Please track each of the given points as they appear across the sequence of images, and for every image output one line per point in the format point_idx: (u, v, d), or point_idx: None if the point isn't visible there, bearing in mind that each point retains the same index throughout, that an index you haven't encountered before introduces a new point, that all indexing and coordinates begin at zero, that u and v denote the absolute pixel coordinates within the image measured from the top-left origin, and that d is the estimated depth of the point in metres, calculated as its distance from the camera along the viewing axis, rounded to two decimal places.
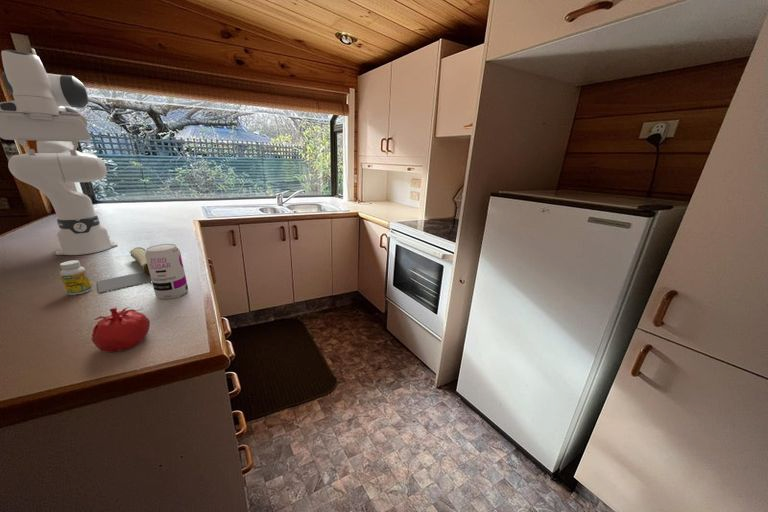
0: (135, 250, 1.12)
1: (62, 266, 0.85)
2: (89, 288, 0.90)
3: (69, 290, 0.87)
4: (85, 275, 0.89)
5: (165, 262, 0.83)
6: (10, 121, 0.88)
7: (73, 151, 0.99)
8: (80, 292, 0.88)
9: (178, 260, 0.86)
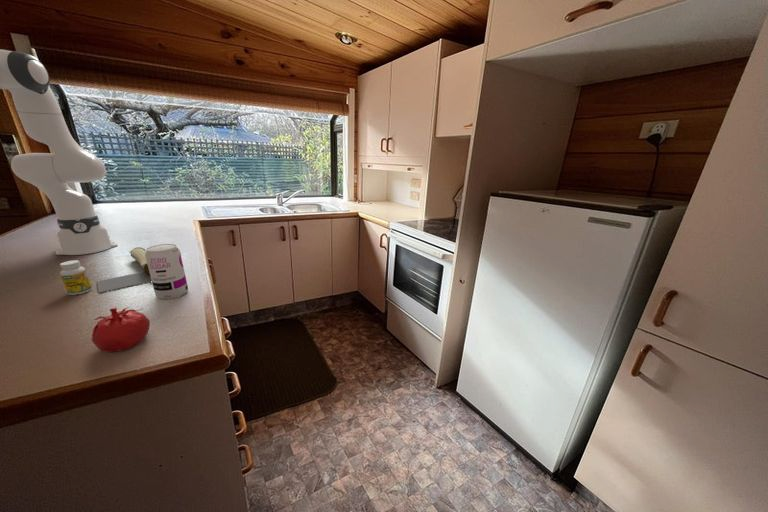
0: (135, 250, 1.12)
1: (62, 266, 0.85)
2: (89, 288, 0.90)
3: (69, 290, 0.87)
4: (85, 275, 0.89)
5: (165, 262, 0.83)
6: None
7: None
8: (80, 292, 0.88)
9: (178, 260, 0.86)
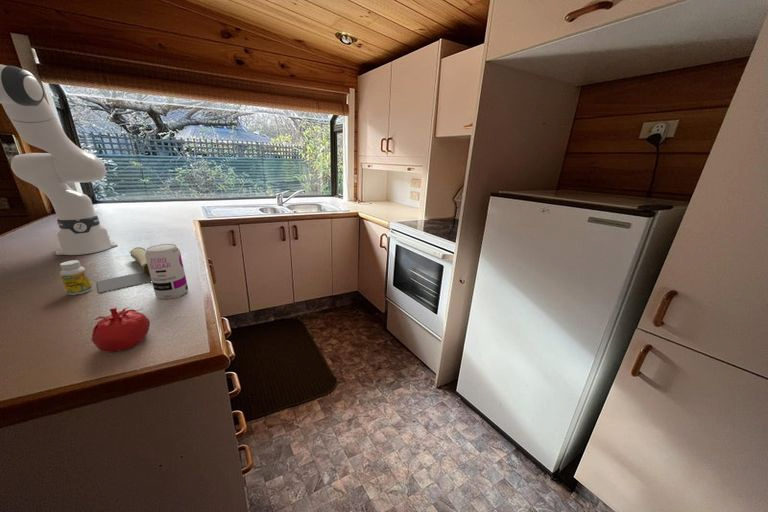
0: (135, 250, 1.12)
1: (62, 266, 0.85)
2: (89, 288, 0.90)
3: (69, 290, 0.87)
4: (85, 275, 0.89)
5: (165, 262, 0.83)
6: None
7: None
8: (80, 292, 0.88)
9: (178, 260, 0.86)
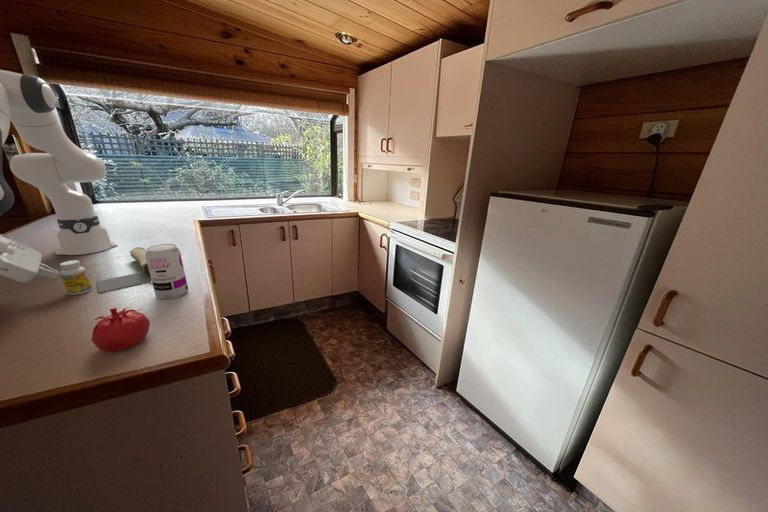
0: (135, 250, 1.12)
1: (62, 266, 0.85)
2: (89, 288, 0.90)
3: (69, 290, 0.87)
4: (85, 275, 0.89)
5: (165, 262, 0.83)
6: None
7: None
8: (80, 292, 0.88)
9: (178, 260, 0.86)
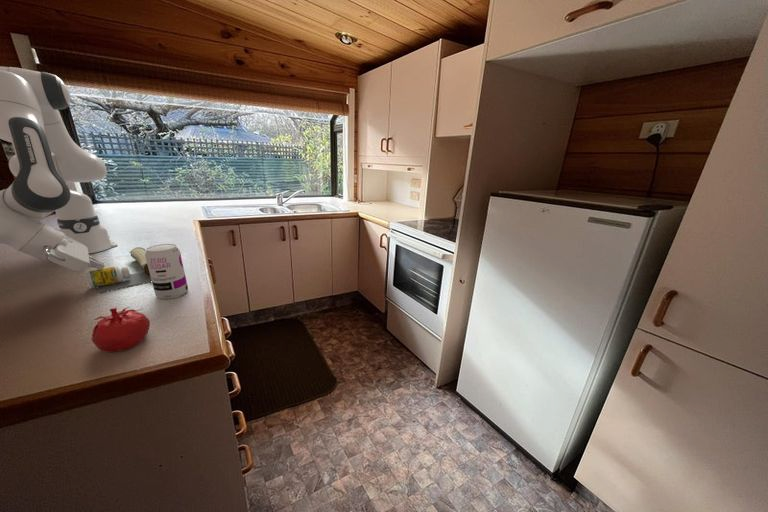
0: (135, 250, 1.12)
1: (126, 269, 0.95)
2: (95, 287, 0.91)
3: (94, 274, 0.90)
4: (113, 283, 0.94)
5: (165, 262, 0.83)
6: None
7: (96, 268, 0.90)
8: (92, 282, 0.89)
9: (178, 260, 0.86)
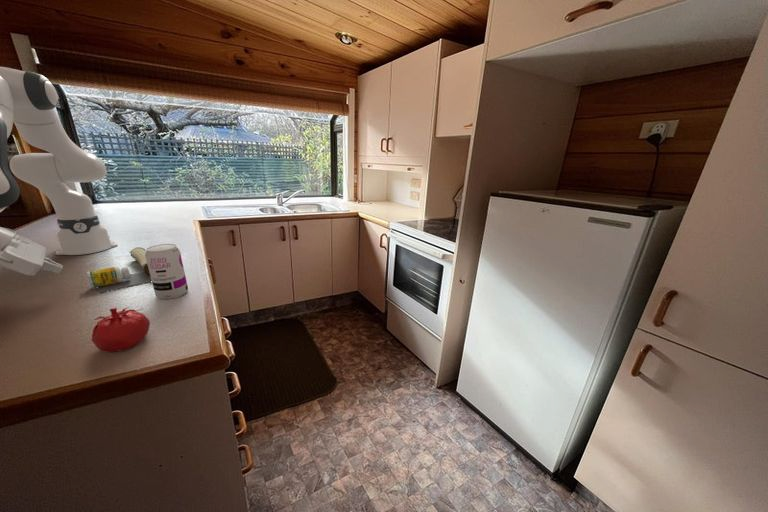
0: (135, 250, 1.12)
1: (126, 270, 0.95)
2: (95, 287, 0.91)
3: (94, 275, 0.89)
4: (113, 283, 0.94)
5: (165, 262, 0.83)
6: None
7: None
8: (92, 283, 0.89)
9: (178, 260, 0.86)
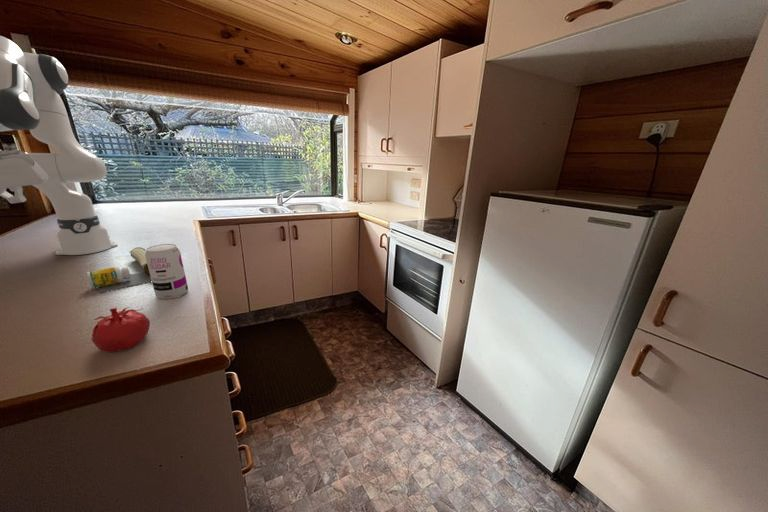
0: (135, 250, 1.12)
1: (126, 270, 0.95)
2: (95, 287, 0.91)
3: (94, 275, 0.89)
4: None
5: (165, 262, 0.83)
6: None
7: (17, 198, 0.83)
8: (92, 284, 0.89)
9: (178, 260, 0.86)
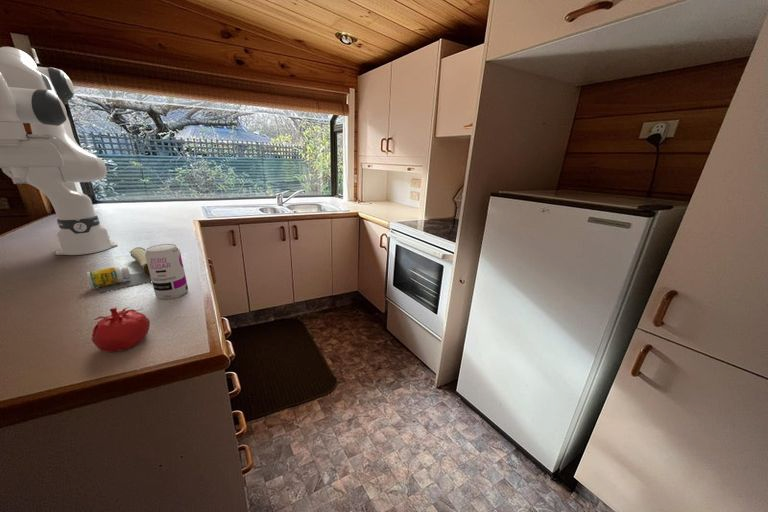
0: (135, 250, 1.12)
1: (126, 270, 0.95)
2: (95, 287, 0.91)
3: (94, 275, 0.89)
4: None
5: (165, 262, 0.83)
6: None
7: (24, 179, 0.86)
8: (92, 284, 0.89)
9: (178, 260, 0.86)
